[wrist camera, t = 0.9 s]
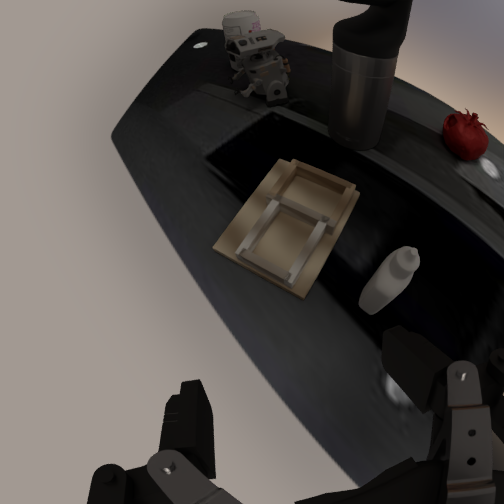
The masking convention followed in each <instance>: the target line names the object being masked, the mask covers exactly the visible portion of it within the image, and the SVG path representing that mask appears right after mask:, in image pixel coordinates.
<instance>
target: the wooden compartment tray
mask: <svg viewBox="0 0 504 504" xmlns="http://www.w3.org/2000/svg"><path fill="white" fill-rule="evenodd" d="M355 187H356V185H354V184H352V183H350V182H348V181H346V180H343V179H341V178H339V177H336V176H334V175H332V174H329V173H327V172H325V171H322V170H320V169H317V168H315V167H312V166H310V165H307V164H305V163H302V162H300V161H297V160H295V159H293V160H292V161H291V163H289V162H287V161H284V160H281V159H279V160H278V161H277V163H276V164H275V165H274V167H273V168H272V169H271V170H270V172H269V173H268V174H267V176H266V177H265V178H264V179H263V181H262V182H261V183H260V185H259V186H258V187H257V189H256V190H255V191H254V193H253V194H252V195H251V196H250V198H249V199H248V200H247V202H246V203H245V204H244V206H243V207H242V208H241V210H240V211H239V212H238V214H237V215H236V216H235V218H234V219H233V220H232V222H231V223H230V224H229V226H228V227H227V229H226V230H225V231H224V233H223V234H222V235H221V237H220V238H219V239H218V241H217V242H216V243H215V245H214V246H213V249H214V251H215V252H217V253H219V254H221V255H222V256H224V257H226V258H228V259H229V260H231V261H233V262H235V263H237V264H238V265H240V266H242V267H244V268H245V269H247V270H249V271H251V272H253V273H254V274H256V275H258V276H260V277H262V278H263V279H265V280H267V281H269V282H271V283H272V284H274V285H276V286H278V287H280V288H281V289H283V290H285V291H287V292H289V293H291V294H292V295H294V296H296V297H298V298H300V299H302V300H304V299H305V297H306V295H307V294H308V292H309V290H310V288H311V287H312V285H313V283H314V281H315V280H316V278H317V276H318V274H319V272H320V271H321V269H322V267H323V265H324V263H325V262H326V260H327V258H328V256H329V254H330V252H331V251H332V249H333V247H334V245H335V243H336V241H337V239H338V237H339V235H340V234H341V232H342V230H343V228H344V226H345V224H346V222H347V220H348V218H349V216H350V214H351V212H352V210H353V208H354V206H355V204H356V202H357V200H358V198H359V195H360V192H358V191H355Z"/></svg>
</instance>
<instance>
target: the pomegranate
mask: <svg viewBox="0 0 504 504" xmlns="http://www.w3.org/2000/svg"><path fill="white" fill-rule="evenodd" d="M466 110H467V109H466ZM454 111H455V110H454ZM455 112H458V113H460V114H450V115H448V116H447V117H446V119H445V121H444V124H443V137H444V141H445V143H446V145H447V146H448V148H449V149H450V150H451V151H452V152H453V153H455V154H457V155H458V156H459V157H460V158H461V159H463V160H466V161H467V160H474V159H478V158H479V157H480V156H481V155H483V154H484V153H485V151H486V149H487V147H488V141H489V140H488V137H487V135H486V134H485V131H484V129H483V127H482V126H481V125H484V126H485V124H483V123H480V122H479V121H478V120H477V119H478V118H479V117H477V116H478V115H477V114H476V113H472V116H471V115H470V114H469V111H468V110H467V114H462V113H461V112H460V111H455ZM485 127H486V126H485ZM486 128H487V127H486Z"/></svg>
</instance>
